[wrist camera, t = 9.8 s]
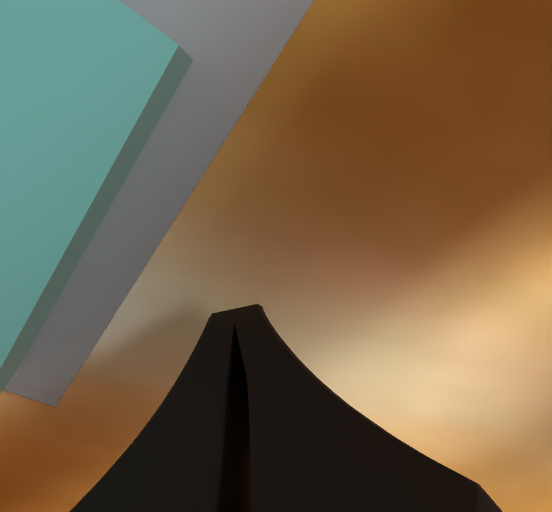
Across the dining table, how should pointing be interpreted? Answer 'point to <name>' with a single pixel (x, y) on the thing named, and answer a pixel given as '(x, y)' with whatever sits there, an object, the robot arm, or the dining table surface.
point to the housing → (68, 141)
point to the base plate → (159, 171)
